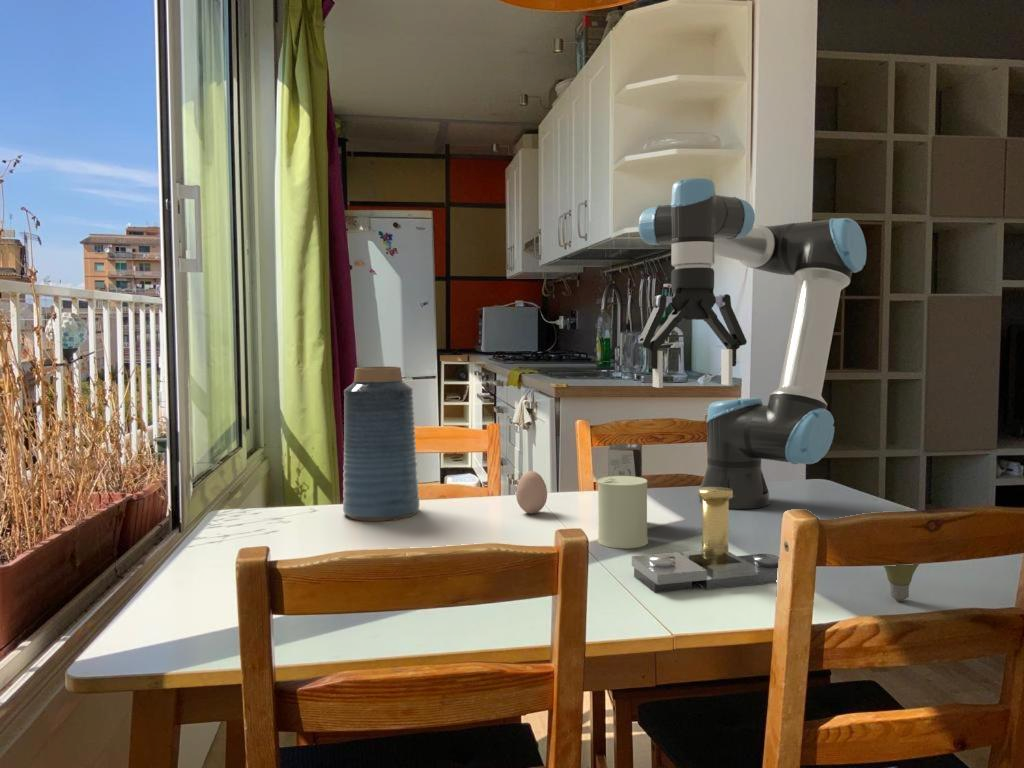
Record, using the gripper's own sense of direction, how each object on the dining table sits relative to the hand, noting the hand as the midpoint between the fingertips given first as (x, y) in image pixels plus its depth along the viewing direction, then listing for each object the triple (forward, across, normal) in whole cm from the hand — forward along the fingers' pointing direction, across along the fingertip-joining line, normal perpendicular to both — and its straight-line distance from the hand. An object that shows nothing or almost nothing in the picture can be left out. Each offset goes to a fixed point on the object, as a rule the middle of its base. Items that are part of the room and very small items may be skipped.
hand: (692, 386), depth 147 cm
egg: (+29, +22, -31) cm, 48 cm away
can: (+29, +12, -4) cm, 32 cm away
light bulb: (+29, -14, +37) cm, 49 cm away
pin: (+29, +6, +20) cm, 35 cm away
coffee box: (+29, +7, -15) cm, 33 cm away
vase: (+29, +53, -41) cm, 73 cm away
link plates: (+29, +6, +20) cm, 35 cm away
